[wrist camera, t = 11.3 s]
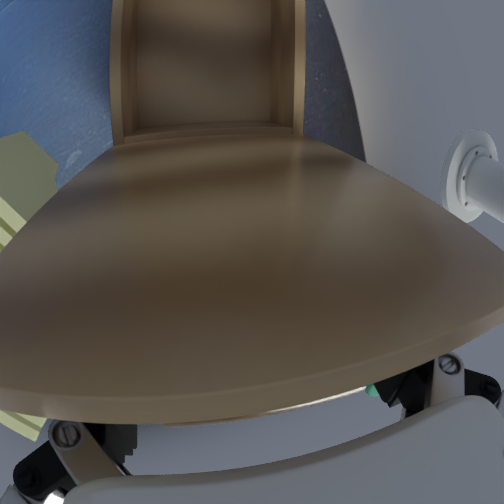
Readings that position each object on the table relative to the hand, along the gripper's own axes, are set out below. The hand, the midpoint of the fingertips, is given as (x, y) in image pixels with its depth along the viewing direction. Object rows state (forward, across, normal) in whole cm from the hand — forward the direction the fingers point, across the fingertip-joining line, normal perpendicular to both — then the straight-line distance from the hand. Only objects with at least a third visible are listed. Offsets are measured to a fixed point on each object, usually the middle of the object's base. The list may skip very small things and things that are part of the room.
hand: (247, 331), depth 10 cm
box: (+22, 0, -14) cm, 27 cm away
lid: (+4, 0, -5) cm, 7 cm away
